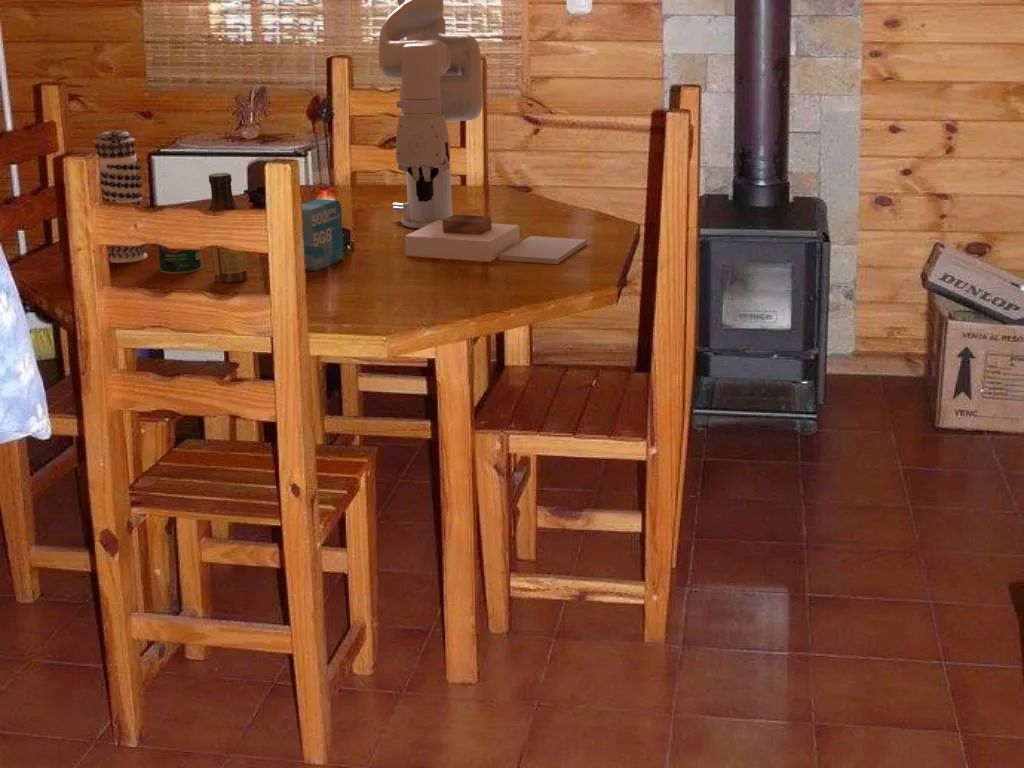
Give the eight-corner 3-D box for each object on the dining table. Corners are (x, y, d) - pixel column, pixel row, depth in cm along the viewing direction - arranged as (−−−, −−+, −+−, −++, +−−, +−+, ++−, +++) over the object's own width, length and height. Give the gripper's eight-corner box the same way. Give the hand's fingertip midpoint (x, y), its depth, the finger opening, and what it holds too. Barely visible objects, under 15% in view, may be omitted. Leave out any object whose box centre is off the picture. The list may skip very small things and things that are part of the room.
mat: (498, 259, 289) (498, 254, 289) (530, 240, 305) (530, 236, 304) (557, 264, 285) (557, 259, 284) (586, 244, 301) (586, 239, 300)
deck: (405, 255, 294) (404, 235, 292) (438, 239, 308) (437, 220, 307) (490, 261, 287) (489, 241, 286) (519, 244, 302) (519, 225, 300)
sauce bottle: (254, 278, 278) (247, 172, 272) (235, 285, 273) (227, 178, 267) (225, 275, 281) (217, 170, 275) (205, 282, 275) (197, 176, 269)
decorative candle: (158, 254, 299) (147, 129, 291) (133, 264, 290) (120, 136, 283) (119, 251, 302) (107, 128, 294) (93, 261, 293) (79, 134, 286)
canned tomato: (166, 275, 281) (160, 218, 278) (155, 267, 288) (150, 211, 284) (206, 270, 284) (202, 214, 281) (195, 262, 291) (190, 207, 288)
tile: (443, 232, 295) (442, 220, 294) (454, 226, 300) (454, 214, 299) (480, 235, 292) (480, 222, 291) (491, 229, 297) (491, 216, 297)
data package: (312, 272, 281) (308, 210, 278) (292, 271, 283) (288, 208, 279) (344, 259, 292) (341, 198, 288) (324, 257, 294) (321, 197, 290)
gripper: (379, 108, 291) (383, 202, 296) (449, 110, 286) (452, 205, 291) (395, 105, 298) (399, 196, 303) (464, 106, 292) (466, 199, 297)
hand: (425, 200), depth 297 cm, fingers closed
